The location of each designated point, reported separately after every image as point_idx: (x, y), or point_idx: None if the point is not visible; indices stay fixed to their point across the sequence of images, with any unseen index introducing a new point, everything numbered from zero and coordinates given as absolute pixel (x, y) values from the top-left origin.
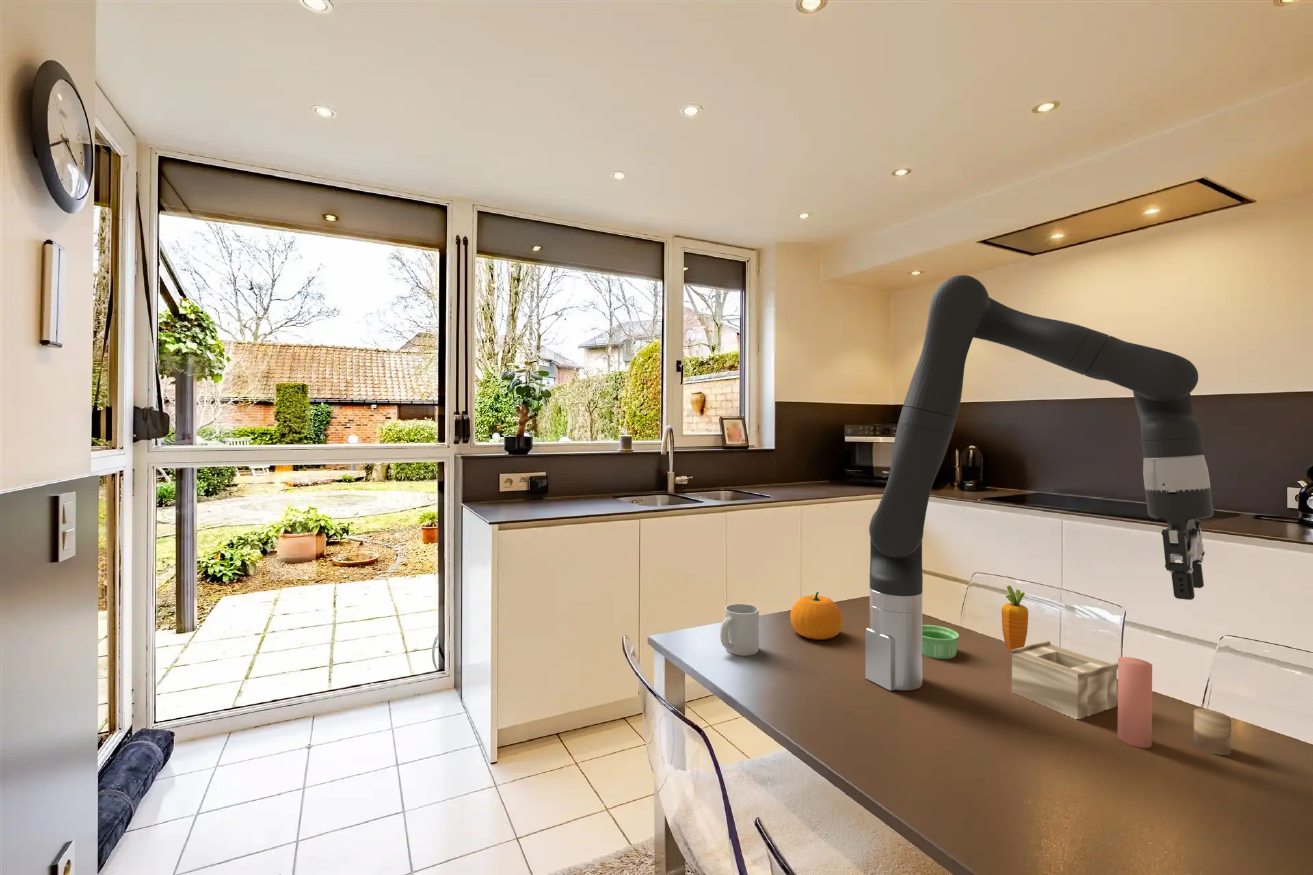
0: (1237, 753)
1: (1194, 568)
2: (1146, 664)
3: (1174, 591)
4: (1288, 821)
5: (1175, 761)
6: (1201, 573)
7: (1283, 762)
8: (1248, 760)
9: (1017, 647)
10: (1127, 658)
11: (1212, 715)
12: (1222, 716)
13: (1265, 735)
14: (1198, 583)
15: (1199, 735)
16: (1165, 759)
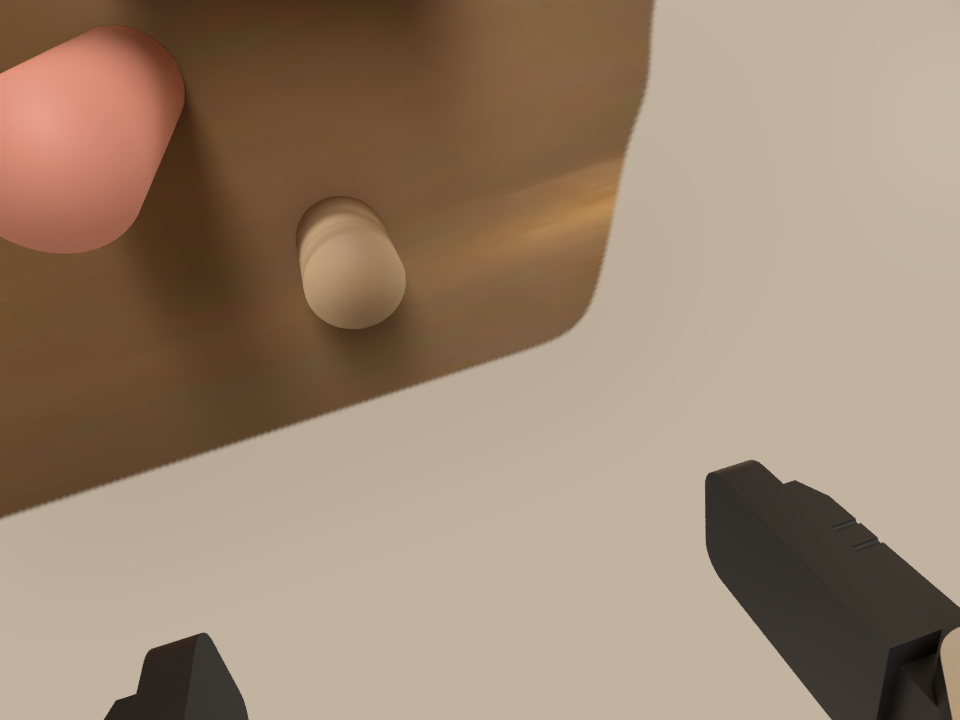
0: None
1: (832, 677)
2: (82, 223)
3: (139, 702)
4: (81, 473)
5: None
6: (792, 668)
7: (426, 352)
8: None
9: None
10: (65, 113)
11: (350, 286)
12: (373, 303)
13: (575, 271)
14: (729, 566)
15: (302, 239)
16: None
